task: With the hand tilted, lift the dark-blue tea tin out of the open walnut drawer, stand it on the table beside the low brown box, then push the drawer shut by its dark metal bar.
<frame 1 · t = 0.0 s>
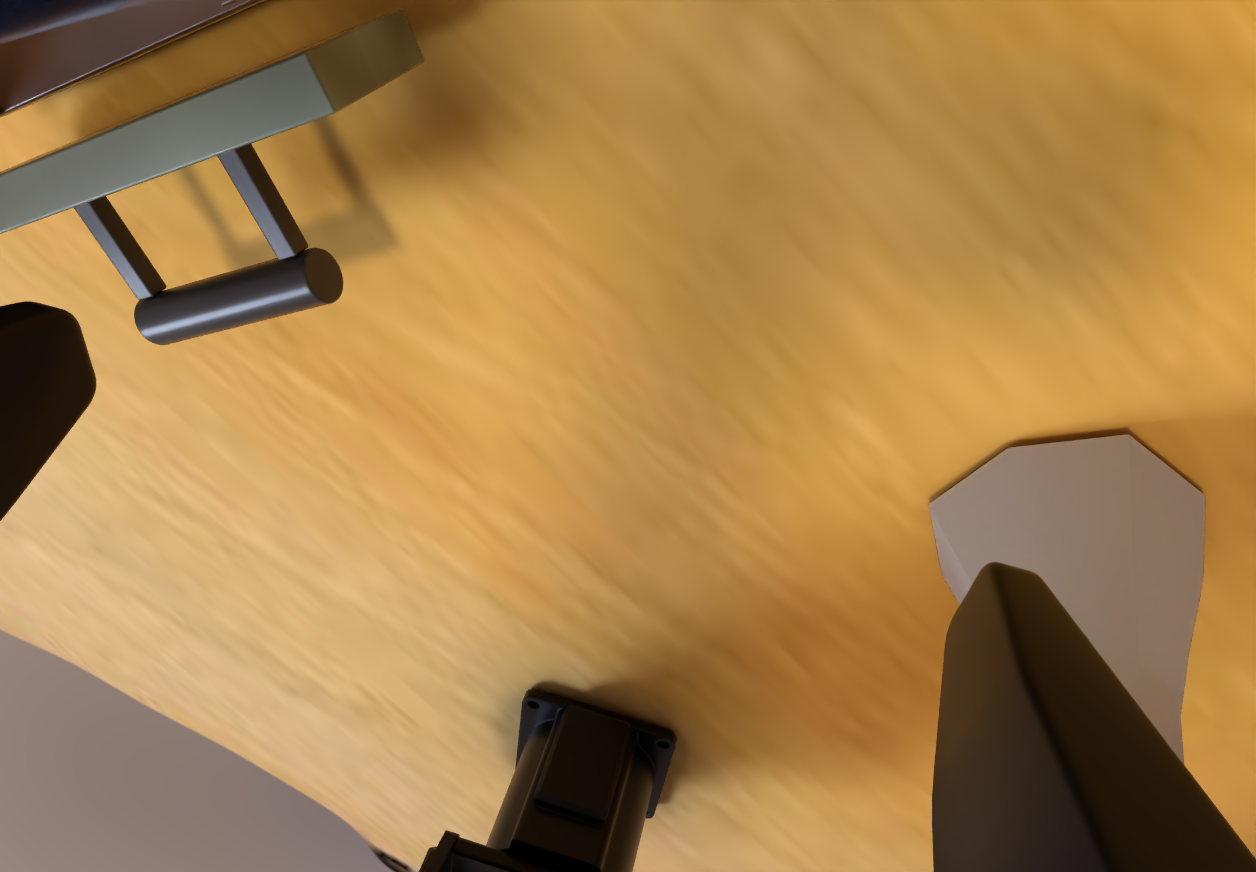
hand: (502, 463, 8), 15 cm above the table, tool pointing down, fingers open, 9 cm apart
flask: (1061, 527, 25), on the table
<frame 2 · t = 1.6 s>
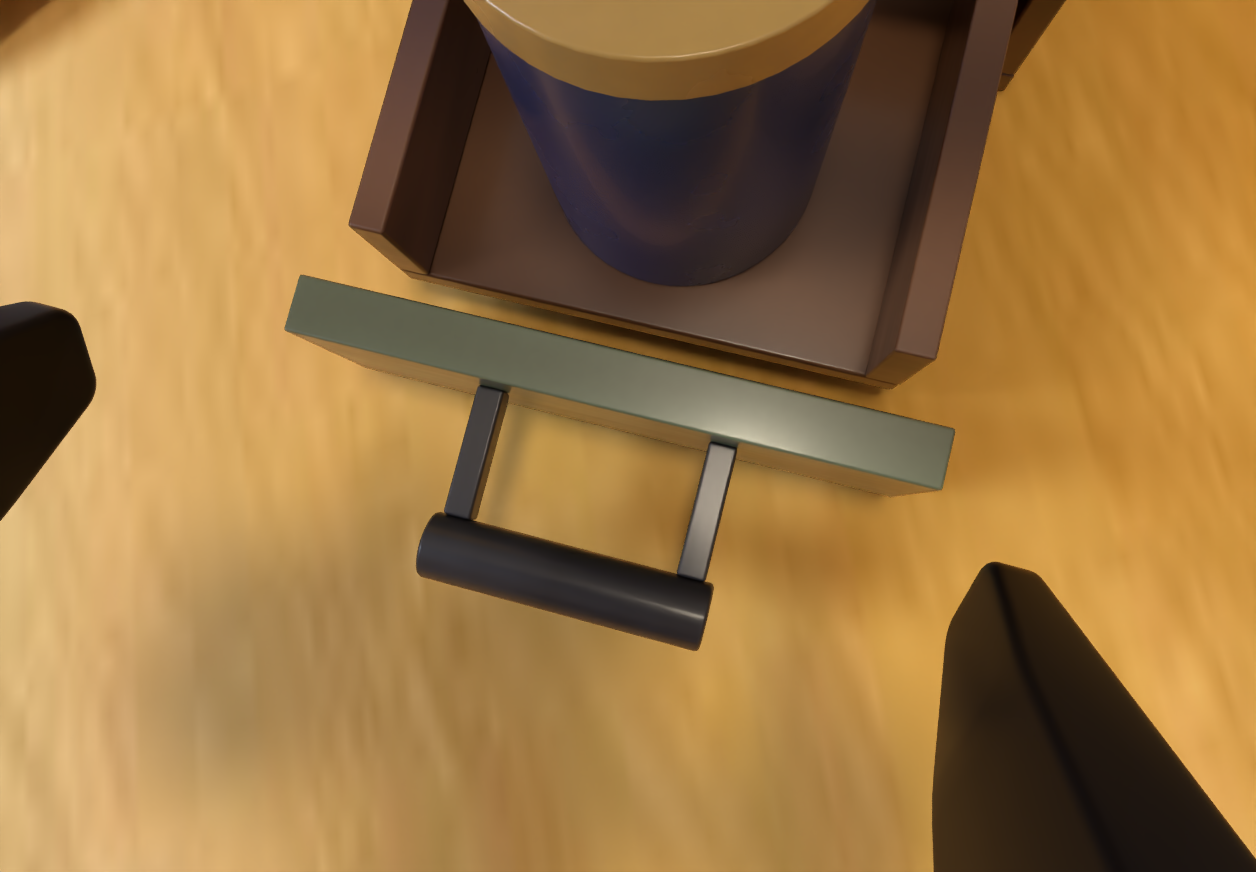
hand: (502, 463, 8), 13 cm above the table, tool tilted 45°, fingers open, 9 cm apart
drawer: (656, 240, 19), point 3 cm above the table, slide at 9.5 cm, touching tea tin
tea tin: (683, 158, 20), point 2 cm above the table, touching drawer
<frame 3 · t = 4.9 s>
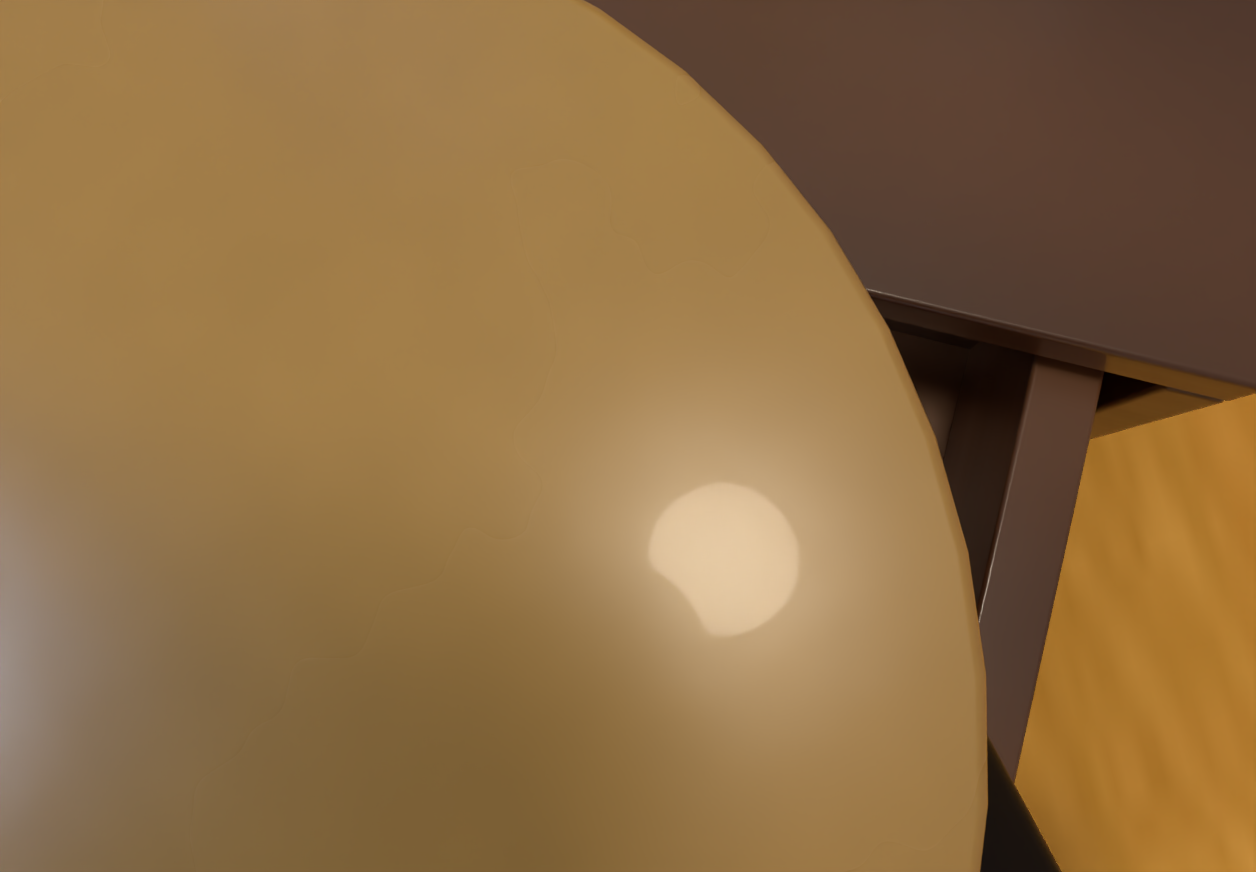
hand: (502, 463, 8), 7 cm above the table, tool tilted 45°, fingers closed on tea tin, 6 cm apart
drawer: (486, 760, 12), point 3 cm above the table, slide at 9.5 cm, touching tea tin
tea tin: (547, 584, 13), point 2 cm above the table, touching drawer, gripper
brown box: (726, 11, 16), on the table
when the fingers open (5 cm above the table, at t = 12.1 s): tea tin stays where it is, on the table.
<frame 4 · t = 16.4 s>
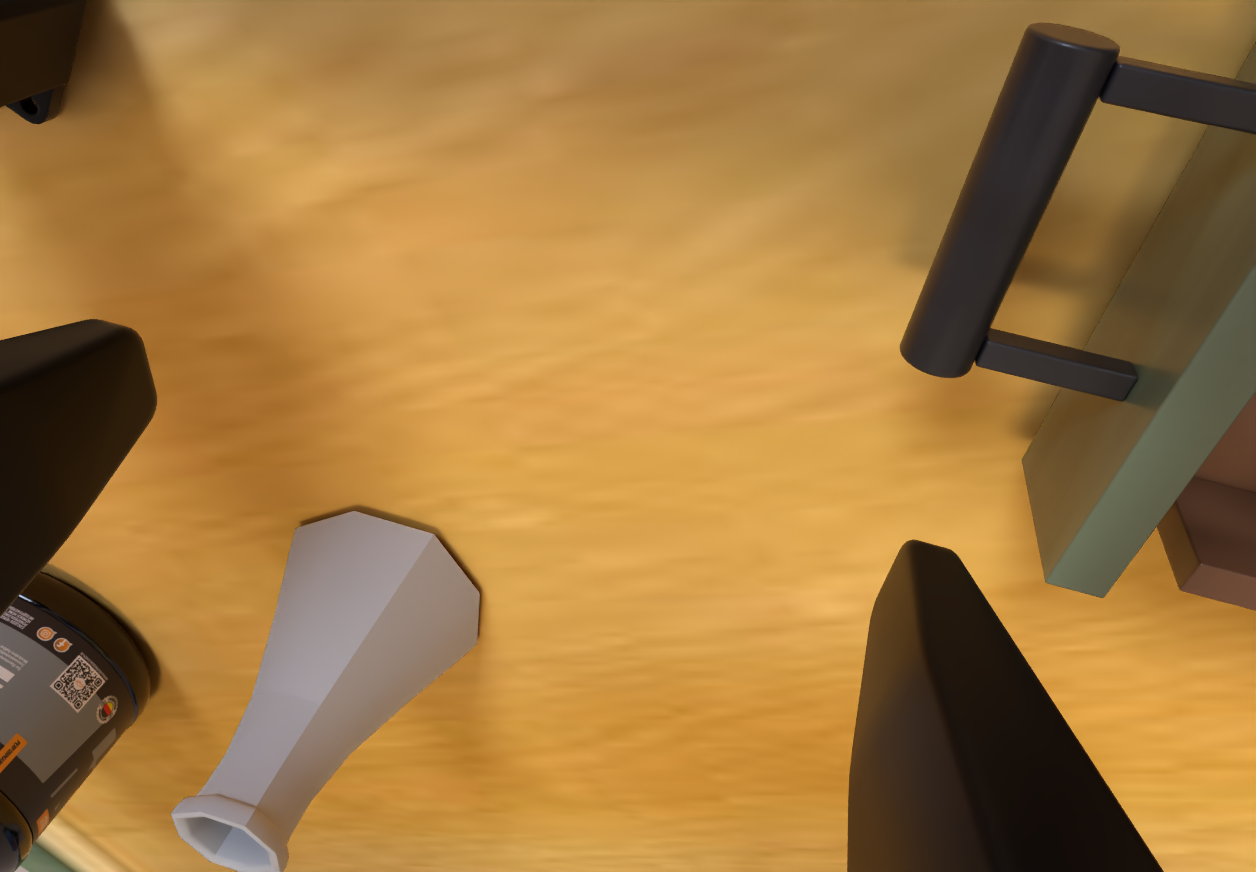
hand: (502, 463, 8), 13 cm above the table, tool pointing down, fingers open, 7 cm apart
supplement container: (60, 628, 39), on the table
flask: (394, 577, 31), on the table
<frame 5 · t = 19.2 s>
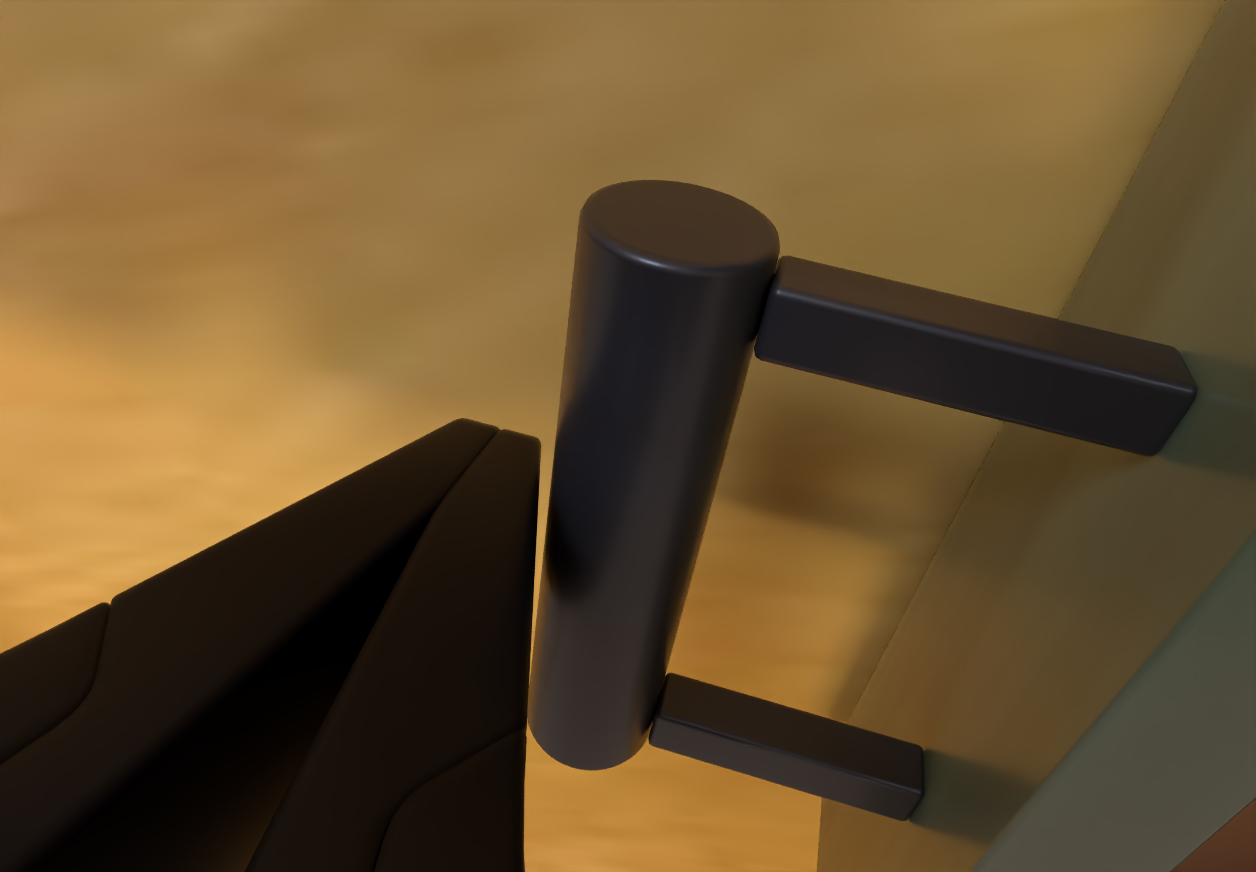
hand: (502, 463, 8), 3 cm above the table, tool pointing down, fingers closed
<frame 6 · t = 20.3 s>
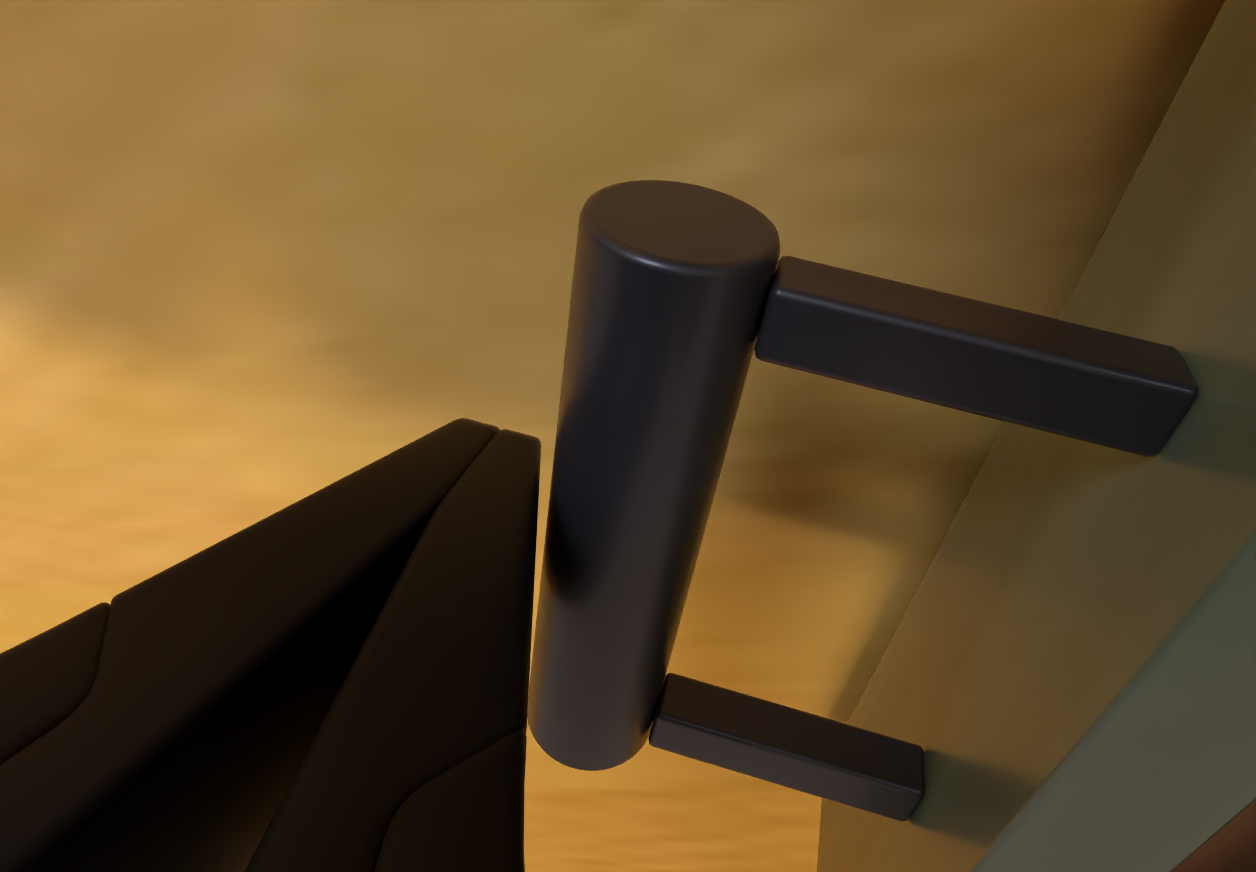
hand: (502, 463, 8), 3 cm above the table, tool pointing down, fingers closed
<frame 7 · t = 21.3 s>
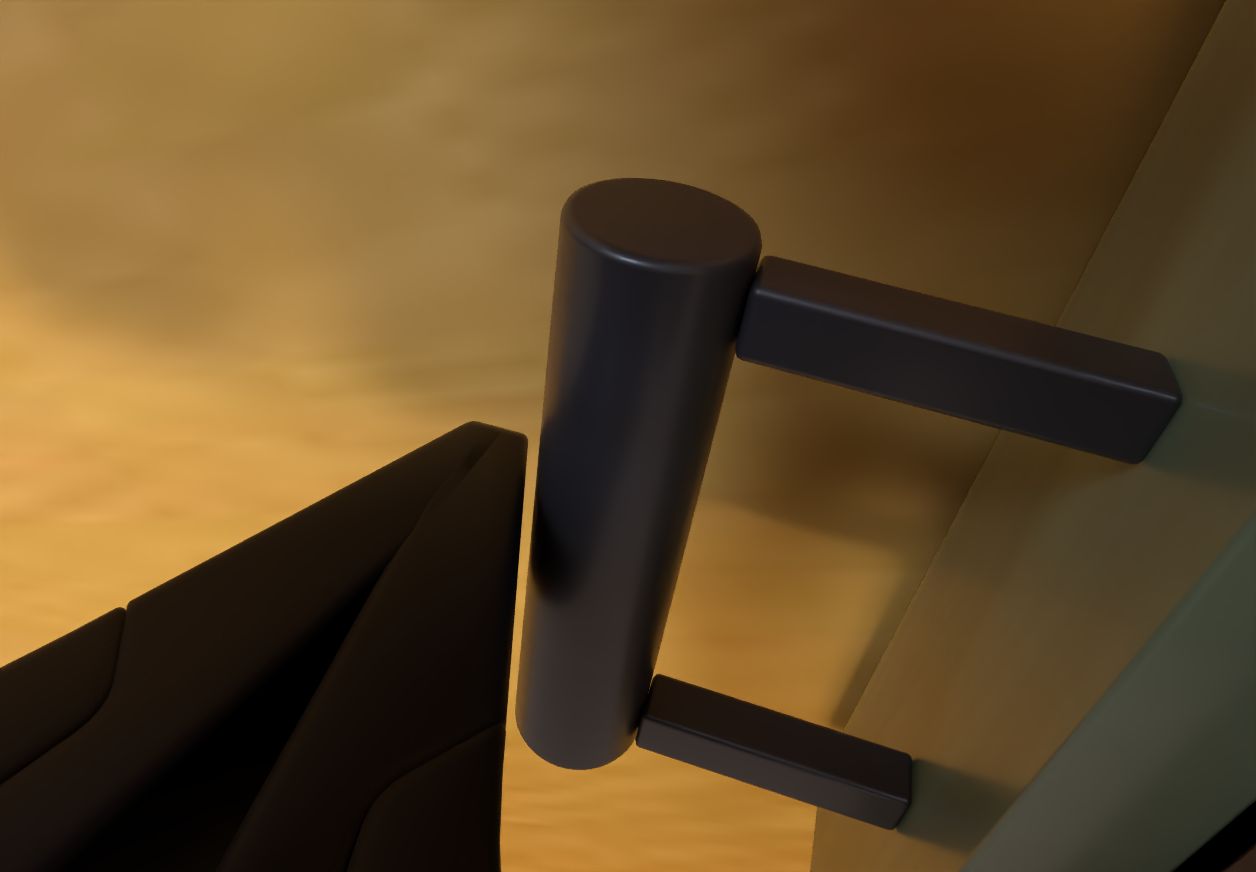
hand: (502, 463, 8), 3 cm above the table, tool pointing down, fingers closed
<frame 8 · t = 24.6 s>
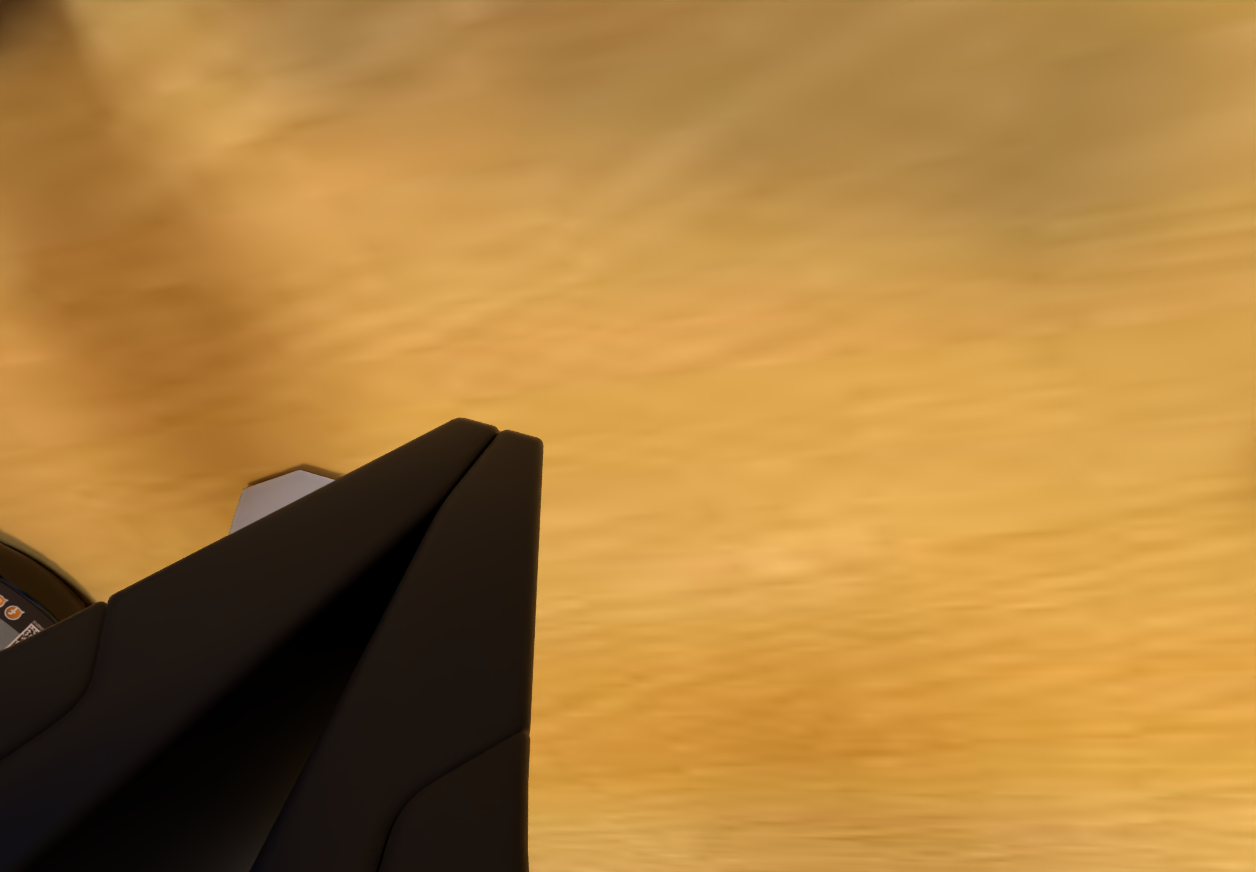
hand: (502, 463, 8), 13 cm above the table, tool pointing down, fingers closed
supplement container: (18, 600, 39), on the table
flask: (345, 541, 31), on the table
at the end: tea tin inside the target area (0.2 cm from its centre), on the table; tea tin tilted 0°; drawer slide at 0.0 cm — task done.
